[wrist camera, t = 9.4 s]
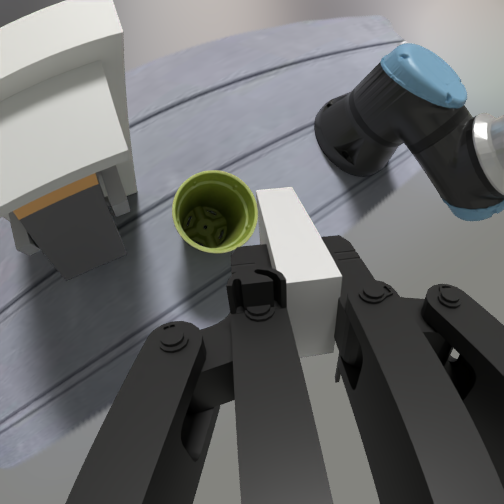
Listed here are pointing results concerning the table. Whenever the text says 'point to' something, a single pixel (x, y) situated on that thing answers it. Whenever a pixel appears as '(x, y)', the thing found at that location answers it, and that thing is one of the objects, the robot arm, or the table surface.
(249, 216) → the plant pot
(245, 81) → the table surface
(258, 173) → the table surface
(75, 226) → the breaker switch
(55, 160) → the box
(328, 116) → the robot arm
